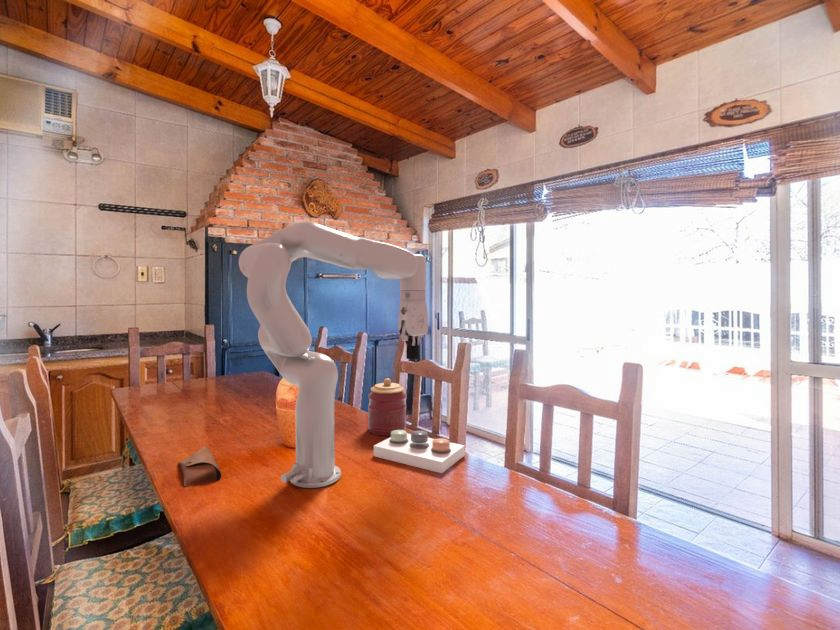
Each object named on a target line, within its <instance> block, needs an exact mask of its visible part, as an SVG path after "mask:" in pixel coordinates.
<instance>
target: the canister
mask: <svg viewBox="0 0 840 630" xmlns="http://www.w3.org/2000/svg"><path fill="white" fill-rule="evenodd" d="M370 391H371V392H370V393H369V394H368V396H367V397H368V399H369V403H368V404H367V408H368V422H367V428H368V431H369V432H370V433H371V434H373V435H377V436H387V437H388V436H391V432H392V431H394V430H404V431H406V429H407V428H406V427H407V403H406V398H407V394H406V393H405V392H404V391H405V387H403V386H402V385H400V383H397V382H392V379H390V378H387V377H386V378H384V379H383V382H379V383H376V384H374V386H372V387H370Z"/></svg>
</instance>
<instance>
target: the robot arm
mask: <svg viewBox="0 0 840 630" xmlns="http://www.w3.org/2000/svg"><path fill="white" fill-rule="evenodd" d="M301 258H307V259H312V260H317V261H319V262H324V263H327V264H332V265H334V266H337V267H341V268H344V269H351V270H368V271H373V272H374V273H375V275H376V276H377V277H378V278H381V279H384V280H399V290H400V291H399V309H398V323H397V324H398V325H397V329H398V334H399V335H400V340H401V341H404V342H405V343H404V345H405V346H406V356H405V357H406V359H408V360H415V361H416V360H418V359H419V346H420V343H421V342H420V340H421V339H422V338H423V337H424V335H426V334H428V332H429V317H428V306H427V301H426V296H427V295H426V293H427V292H426V290H427V289H426V287H427V283H426V282H427V267H426V266H427V260H426V257H425V256H424V254H417V253H416V254H415V253H413V252H411V251H410V250H408V249H404V248H402V247H399V246H397V245H394V244H390V243H387V242H382V241H377V240H373V239H369V238H365V237H364V238H363V237H360V236H359V237H358V236H354V235H352V234H348V233H345V232H343V231H339V230H337V229H334V228H331V227H328V226H327V225H326V226H325V225H322V224H319V223H316V222H312V221H302V222H297V223H294V224H289V225H287V226H285V227H283V228H281V229H279V230H278V231H276V232H274V233H272V234H271V235H268V236H267V237H264V238H263V239H261V240H259V241H257V242H255V243H253V244H251V245H249V246H247V247H245V249H244V250H243V251H242V252H241V253H240V254H239V257H238V267H239V270H240V272H241V273H242V274H243V276H245V277H246V278H247V284H246V298H247V302H248V305H249V307H250V309H251V311H252V313H253V315H254V317H255V318H256V320H257V321H258V323H259V328H258V332H257V338H258V343H259V344H260V345H259V346H260V347H261V348H262V350H263V352H264V353H265V355H266V356H267V358H268V359H269V360H270V361H271V363H272V364H273V365H274V367H275V368H276V370H277V371H278V373H279V375H281V377H282V378H283V379H284V380H285V381H286V382H287V383H289V384H291V385H294V386H296V387H298V392H297V396H296V400H295V401H296V402H295V408H294V414H295V415H294V416H295V417H294V419H295V463H292V468H291V469H290V471H288V472H287V471H286V472H285V473H283V474H282V475H280V480H281V482H282V483H283V484H284V483H285V484H286V483H288V482H290V483H291V485H293V486H296V487H298V488H302V489H303V488H304V489H316V488H322V487H326V486H330V485H332V484H334V483H336V482H337V481H338V480H340V478H341V476H342V471H341V468H340V467H339V466H338V465H335V463H336V462H335V461H336V458H335V457H336V455H335V453H336V451H335V450H336V449H335V447H336V446H335V442H336V441H335V439H336V438H335V434H336V433H335V430H336V429H335V426H336V425H335V424H336V423H335V399H336V391H337V390H336V389H337V386H338V385H337V384H338V381H339V380H338V378H339V373H338V372H339V371H338V366H337V365H336V363H335V361H334V360H333V359H332V358H331V357H330V356H327V355H326V354H324V353H321V352H317V351H311V350H310V349H311V346H312V342H313V341H312V340H313V337H312V335H311V331H310V329H309V327H308V326H307V324H306V323H305V322H304V320H303V318H302V317H301V315H300V314H299V312H298V311H297V309H296V307H295V306H294V305H293V303H292V301H291V299H290V297H289V294H288V293H287V289H286V288H287V286H286V283H287V279H288V275H289V273H290V270H291V267H292V263H293V262H294V261H296V260H298V259H301Z"/></svg>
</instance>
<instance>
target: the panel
mask: <svg viewBox="0 0 840 630" xmlns="http://www.w3.org/2000/svg"><path fill="white" fill-rule="evenodd" d="M434 439H435V438H430V437H428V441H427V442H425V443H414V442H412V441H411V433H407V440H406V441H404V442H394V441H391V436H389V437H388V438H386V439H384V440H382V441H380V442H378V443H376V444H374V445H373V457H375V458H380V459H384V460H387V461H392V462H395V463H400V464H403V465H408V466H412V467H415V468H420V469H423V470H427V471H431V472H435V473H439V474H443V473H445V472H446V471H447V470H448V469H450V468H451V467H452V466H454V465H455V464H456V463H457V462H458V461H460V460H461V459H462V458H464V457H465V454H466V453H465V452H466V451H465V450H466V449H465V448H466V445H464V444H460V443H456V442H450V449H449V450H448V451H444V452H439V451H435V450H433V449H432V441H433V440H434Z"/></svg>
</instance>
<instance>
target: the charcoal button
mask: <svg viewBox="0 0 840 630" xmlns="http://www.w3.org/2000/svg"><path fill="white" fill-rule="evenodd" d="M410 434H411V441H412V442H414V443H425V442H427V441H428V438H429V433H428V432H427V431H425V430H414V431H411V433H410Z"/></svg>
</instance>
